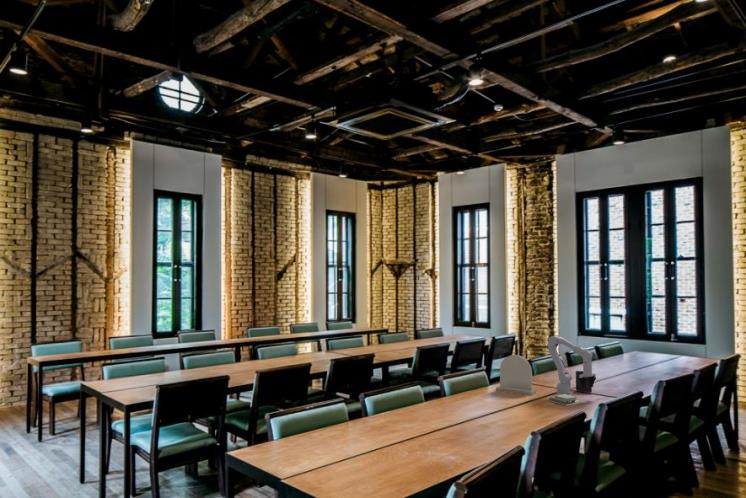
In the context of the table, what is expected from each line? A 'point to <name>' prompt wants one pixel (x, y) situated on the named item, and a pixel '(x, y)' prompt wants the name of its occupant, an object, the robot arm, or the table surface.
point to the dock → (565, 401)
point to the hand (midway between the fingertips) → (587, 387)
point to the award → (516, 375)
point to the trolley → (565, 397)
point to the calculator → (579, 385)
